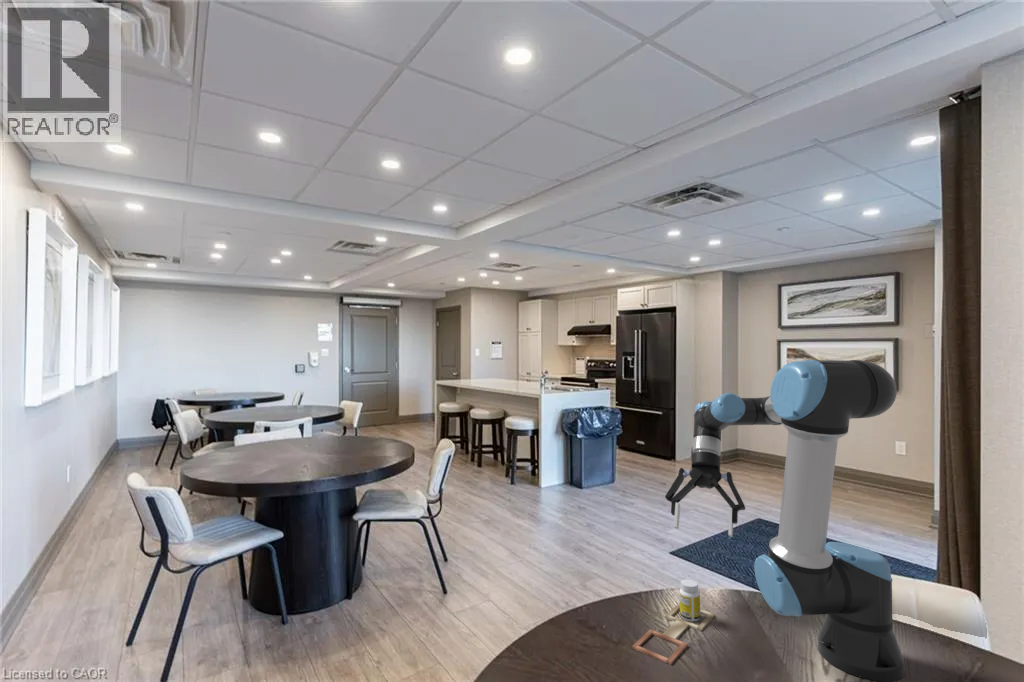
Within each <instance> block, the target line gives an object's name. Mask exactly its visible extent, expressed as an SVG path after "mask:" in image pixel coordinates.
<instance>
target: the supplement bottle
mask: <svg viewBox="0 0 1024 682" xmlns="http://www.w3.org/2000/svg"><path fill="white" fill-rule="evenodd" d="M700 598H701V595H700V591H699V584H698V582H697V581H695V580H692V579H682V580H681V581H680V589H679V603H680V609H679V616H680V617H681V618H682V620H684V621H687V622H691V623H693V622H698V621H700V620H701V613H700V609H701V599H700Z"/></svg>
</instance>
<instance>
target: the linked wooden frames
mask: <svg viewBox="0 0 1024 682" xmlns="http://www.w3.org/2000/svg"><path fill="white" fill-rule="evenodd" d="M679 611H680V602H679V603H677V604H676V605H675V606H674V607H673V608H672V609H671V610H670V611H669V612H668V613H666V615H664V618H665V619H667V620H670V621H673V623H672V624H671V625H670V626H668V628H667V629H666V630H665V631H664V632H663V633H661V632H658V631H656V630H653V629H649V630H648V631H647V632H646V633H645V634H643V635H642V636H641V637H640V638H639V639H638V640H637V641H636V642H634V643H633V645H631V649H633V650H634V651H638V652H640V653H642V654H644V655H647V656H649V657H651V658H654V659H656V660H658V661H661V662H662V663H666V664H667V665H670V666H671V665H672V664H673V663H674V662H675V661H676V660H677V659H678V658H679V656H680V655H681V654H682V653H683V652H684V651H685V650H686V649H687V647H689V644H688V643H687V642H684V641H681V640H679V637H681V635H682V634H683V633H684V632H685V631H686V630H687V629H688V628H689V627H690V628H691V629H695V630H697V631H699V632H702V631H703V630H704V629H705V627H706V626H708V625H709V623H710V622H711V621H712V620H713V619H714V618H715V617H714V616H716V614H715V613H712V612H710V611H707V610H704V609H702V608H700V614H701V613H703V614H702V615H704V614H707V615H708V616H707V615H706V617H705V618H704V620H702V621H701V623H700V624H699V625H698V624H695V623H693V622H691V621H687V620H684V619H681V618H678V617H675V616H674V615H675V614H676V613H677V612H679ZM713 617H714V618H713ZM712 618H713V619H712ZM711 619H712V620H711ZM652 636H655V637H658V638H660V639H662V640H664V641H667V642H669V643H673V644H675V645H677V646H678V647H677V648H676V650H674V652H672V653H671V655H670V656H669V657H667V656H663V655H661V654H659V653H657V652H654V651H652V650H650V649H647V648H645V647H642V645H643V644H644V643H646V641H648V640H649V638H651V637H652Z"/></svg>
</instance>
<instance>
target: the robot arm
mask: <svg viewBox="0 0 1024 682" xmlns="http://www.w3.org/2000/svg"><path fill="white" fill-rule="evenodd" d="M773 377H774V378H773V380H772V383H771V386H770V395H769V396H766V397H765V396H764V397H740V396H739V395H736V394H735V393H731V392H727V393H723V394H721V395H719V396H718V397H716V398H715V399H713V401H710V400H709V401H708V400H707V401H701V402H698V403H696V405H695V407H694V408H695V409H694V413H693V418H694V420H693V435H692V436H693V437H692V455H691V468H690V469H689V470H686V469H684V468H683V467H680V468H679V471H678V475H677V477H676V478H675V480H674V482H673V483H672V485H671V486H670V488H669V489H668V490H667V492H666V493H665V496H664V498H665V499H666V500H667V501H668V502H669V503H671V509H670V513H671V516H674V519H673V520H674V521H673V528H674V529H675V530H679V529H680V516H681V515H680V514H681V504H680V501H682V500H683V499H684V498H685V497H686V496H688V494H690V492H691V491H692V490H693V489H695V488H696V487H698V488H700V489H703V488H704V489H705V488H706V489H709V490H711V489H713V488H715V490H716V491H717V492H718V493H719V494H720V496H721V497H722V499H723V500H724V501H725V502H726V503H727V505H729V507H730V508H728V524H727V525H728V527H727V528H728V529H727V532H728V536H729V538H733V537H734V536H733V535H734V524H735V525H737V524H738V521H739V520H738V519H739V518H738V517H739V515H738V513H739V512H740V511H745V510H746V506H745V503H744V501H743V500H742V497H741V495H740V494H739V492H738V490H737V487H736V486H735V484H734V481H733V480H734V479H733V474H732V472H730V471H727V472H726V473H725V472H724V473H722V472H721V457H720V456H721V454H722V452H721V451H722V450H721V449H722V448H721V447H722V443H721V442H722V431H723V430H724V429H726V428H728V427H730V426H762V425H763V426H764V425H765V426H766V425H767V426H768V425H769V426H770V425H771V426H780V425H782V426H783V427H784V428H785V429H786V430H787V433H788V434H787V435H788V436H787V443H786V453H785V461H784V462H785V464H784V473H783V474H784V475H783V484H782V494H781V495H782V496H781V503H780V504H781V505H780V515H779V523H778V525H779V526H778V535H777V536H774V537H772V538H771V539H770V540H769V543H768V553H767V554H764V553H763V554H761V555H759V556H758V557H756V558H755V561H754V565H753V566H754V567H753V568H754V574H755V581H756V583H757V587H758V589H759V591H760V593H761V596H762V597H763V598H764V600H765V602H766V604H767V605H768V606H769V607H770V608H771V609H772V610H773V612H775V613H777V614H779V615H781V616H786V617H787V616H791V617H792V616H793V617H797V618H798V617H799V618H800V617H801V616H817V615H819V616H820V615H825V617H824V620H823V623H822V624H821V628H820V630H819V633H818V637H817V649H818V652H819V653H820V656H821V657H822V658H824V660H825V661H827V662H828V663H829V664H830V665H832V666H834V667H836V668H837V669H839V670H841V671H844V672H845V673H847V674H850V675H853V676H855V675H856V677H858V676H861V677H860V678H862V677H863V679H865V678H867V679H866V680H870V681H876V682H894V681H898V680H901V679H902V678H903V677H904V676H905V672H906V671H905V670H906V668H905V667H906V666H905V665H906V664H905V659H904V655H903V653H902V651H901V650H902V649H901V648H900V645H899V643H898V640H897V637H896V635H895V632H894V628H893V627H894V626H893V624H894V623H893V621H894V620H893V619H894V618H893V587H892V585H893V578H892V574H891V573H892V571H891V565H890V562H889V561H888V559H886V558H885V557H884V556H882V555H881V554H880V553H877V552H875V551H873V550H870V549H868V548H864V547H863V546H858V545H854V544H851V543H845V542H840V541H829V542H827V535H828V528H829V526H828V525H829V518H830V510H831V502H832V493H833V483H834V475H835V469H836V468H835V467H836V459H837V457H836V456H837V450H838V440H839V439H840V438H842V437H844V436H846V435H848V434H849V427H850V419H867V418H868V419H869V418H873V417H876V416H880V415H882V414H884V413H885V412H887V411H888V410H889V409H891V407H892V406H893V404H894V403H895V401H896V398H897V393H898V390H897V384H896V381H895V379H894V377H893V376H892V375H891V373H890V372H888V370H886V369H885V368H883V367H882V366H880V365H878V364H877V363H875V362H871V361H868V360H867V361H866V360H860V359H852V360H839V359H838V360H833V359H832V360H831V359H826V360H822V359H820V360H819V359H806V360H798V361H791V362H788V363H786V364H784V365H783V366H782V367H781V368H779V370H778V371H777V372H776V374H775V375H774V376H773ZM688 476H690V478H691V479H690V480H689V481H688V482H687V483H686V484H685V485H684V486H683V487H682V488H681V489H680V486H681V485H682V483H683V481H684V480H685V479H686V478H688ZM722 479H723V480H724V481H725V482H726V483H728V485H729V487H730V490H731V493H732V494H733V496H734V498H735V500H736V502H737V504H736V503H735V502H734V501H733V500H732V499H731V497H730V495H728V494H727V492H726V491H725V490H724V489H723V487H722V486H721V484H720V483H719V482H720V481H721V480H722ZM679 489H680V490H679ZM678 490H679V491H678ZM677 491H678V492H677Z"/></svg>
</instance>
